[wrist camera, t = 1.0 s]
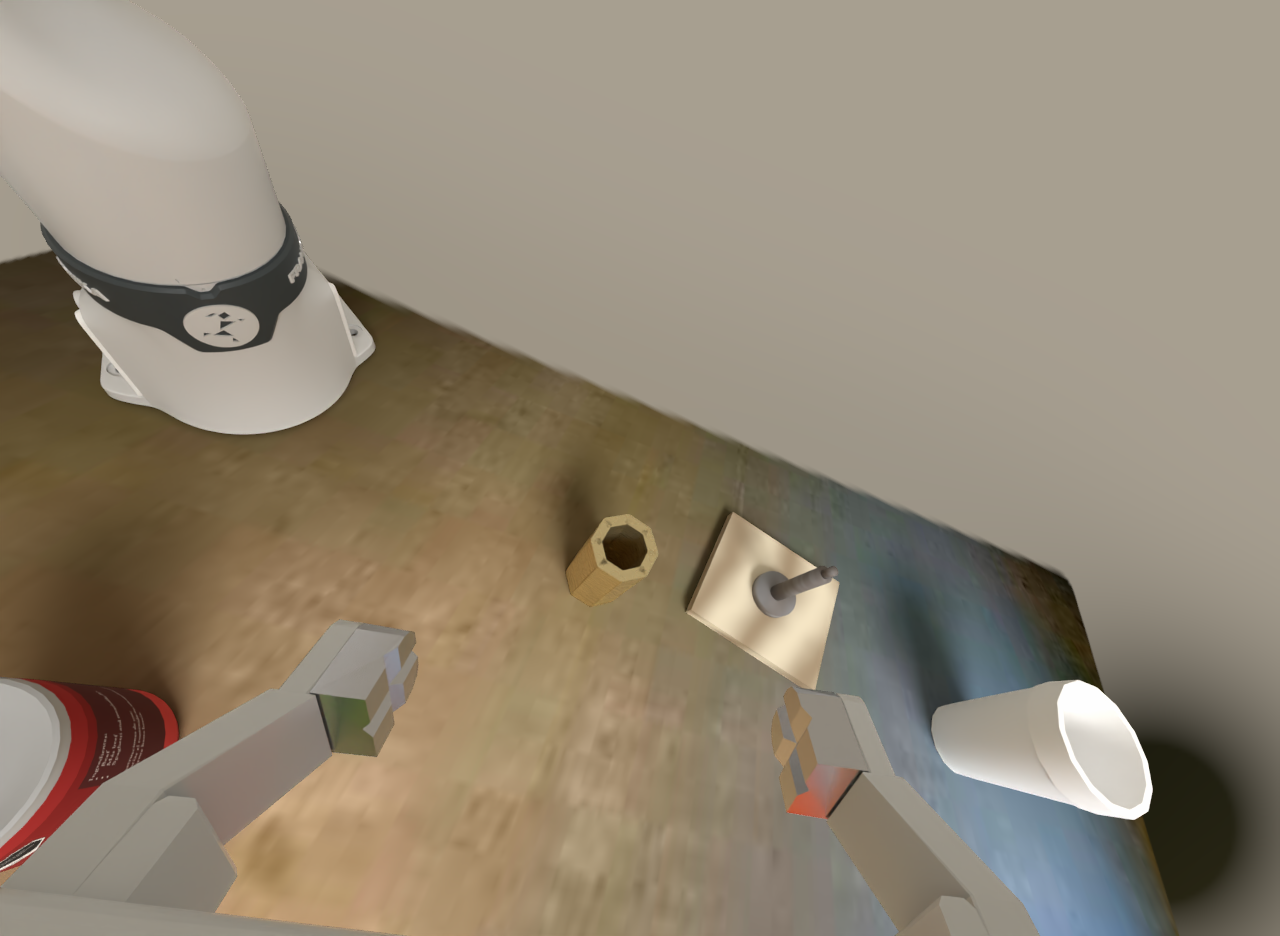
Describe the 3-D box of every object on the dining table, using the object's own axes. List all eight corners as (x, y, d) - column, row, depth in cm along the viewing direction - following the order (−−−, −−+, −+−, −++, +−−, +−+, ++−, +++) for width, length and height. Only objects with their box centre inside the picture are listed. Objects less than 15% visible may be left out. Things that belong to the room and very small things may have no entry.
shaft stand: (685, 612, 43) (743, 585, 35) (727, 516, 50) (784, 474, 42) (806, 691, 44) (892, 684, 35) (831, 585, 51) (909, 558, 42)
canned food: (-54, 825, 24) (-363, 891, 15) (92, 669, 28) (-78, 646, 19) (99, 872, 25) (-101, 959, 16) (217, 714, 29) (113, 711, 20)
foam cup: (999, 733, 49) (1151, 737, 39) (983, 818, 44) (1153, 850, 34) (931, 669, 50) (1062, 655, 39) (907, 745, 45) (1050, 753, 34)
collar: (556, 585, 40) (580, 555, 33) (585, 540, 43) (613, 503, 36) (604, 616, 41) (638, 593, 33) (629, 569, 43) (666, 538, 36)
